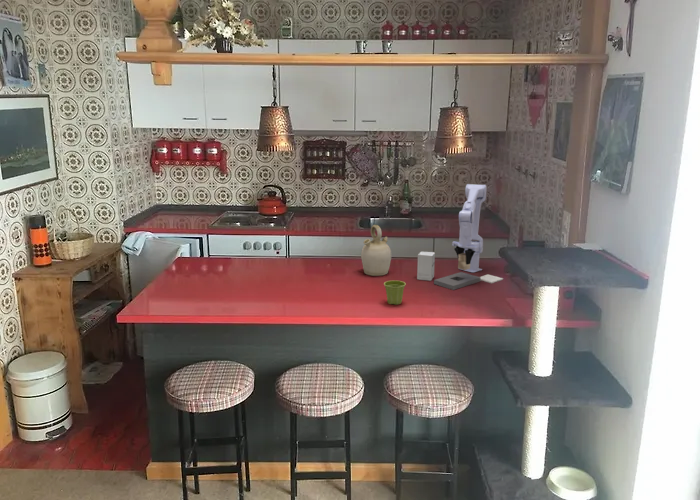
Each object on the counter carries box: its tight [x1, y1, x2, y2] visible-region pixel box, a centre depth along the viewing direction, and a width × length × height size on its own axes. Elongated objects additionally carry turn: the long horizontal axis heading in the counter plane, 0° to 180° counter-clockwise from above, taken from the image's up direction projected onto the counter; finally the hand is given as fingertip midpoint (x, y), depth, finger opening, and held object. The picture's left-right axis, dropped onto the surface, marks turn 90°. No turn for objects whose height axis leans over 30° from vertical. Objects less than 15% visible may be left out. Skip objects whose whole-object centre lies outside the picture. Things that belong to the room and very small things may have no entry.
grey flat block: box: [433, 271, 482, 291], centre depth 283 cm, size 12×20×2 cm, turn 130°
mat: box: [480, 274, 504, 284], centre depth 288 cm, size 9×9×1 cm
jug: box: [360, 224, 392, 277], centre depth 297 cm, size 15×16×25 cm
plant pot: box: [383, 280, 406, 305], centre depth 255 cm, size 9×9×9 cm
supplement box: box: [416, 251, 436, 282], centre depth 289 cm, size 7×7×13 cm
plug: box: [457, 253, 470, 271], centre depth 281 cm, size 4×4×7 cm
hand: (464, 263), depth 282 cm, fingers closed on plug, 4 cm apart
